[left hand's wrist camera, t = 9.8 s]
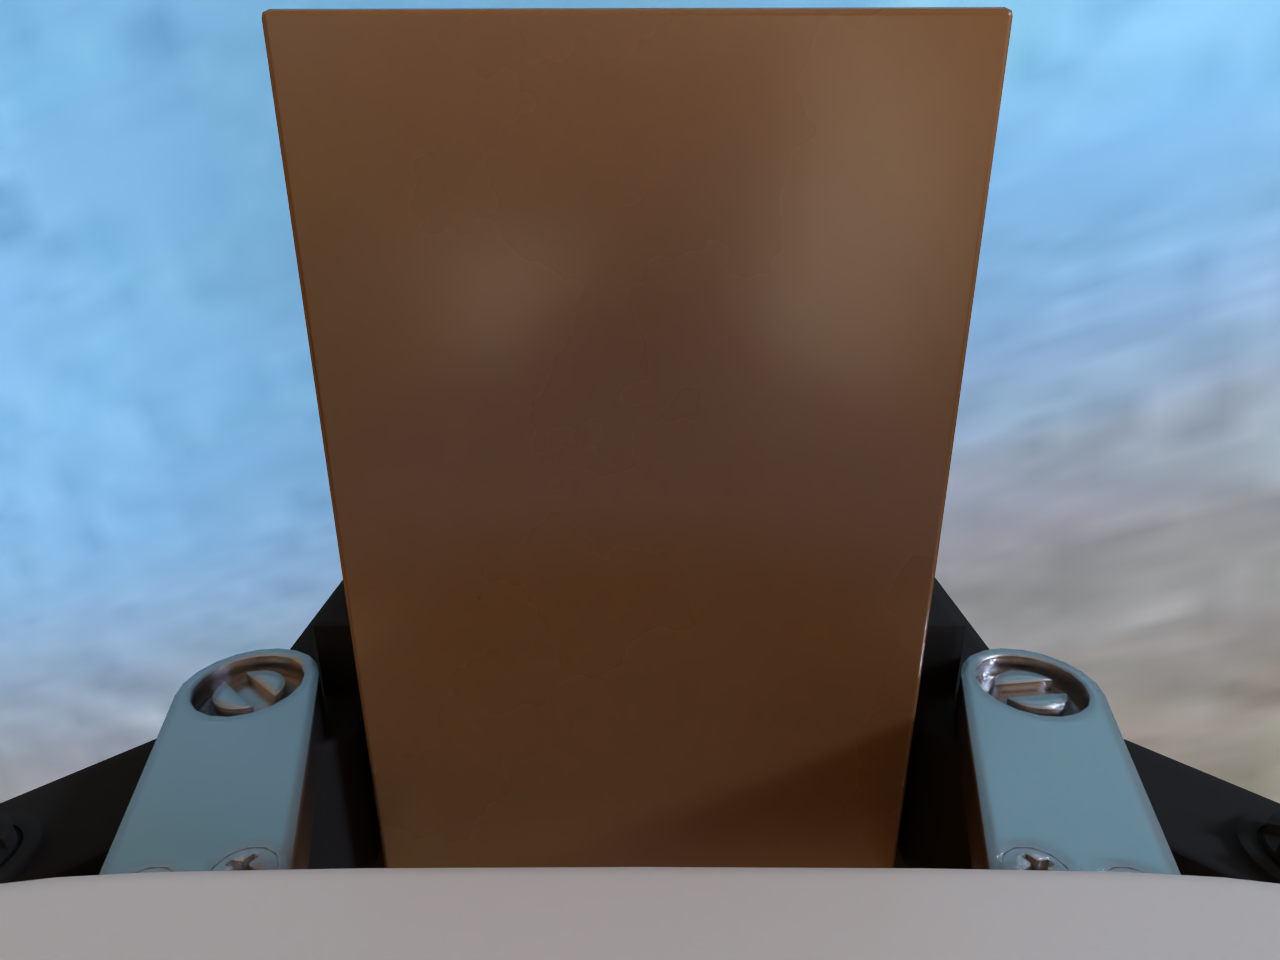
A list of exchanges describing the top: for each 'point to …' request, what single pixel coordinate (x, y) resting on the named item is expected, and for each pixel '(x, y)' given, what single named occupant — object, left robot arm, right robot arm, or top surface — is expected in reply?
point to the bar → (638, 410)
